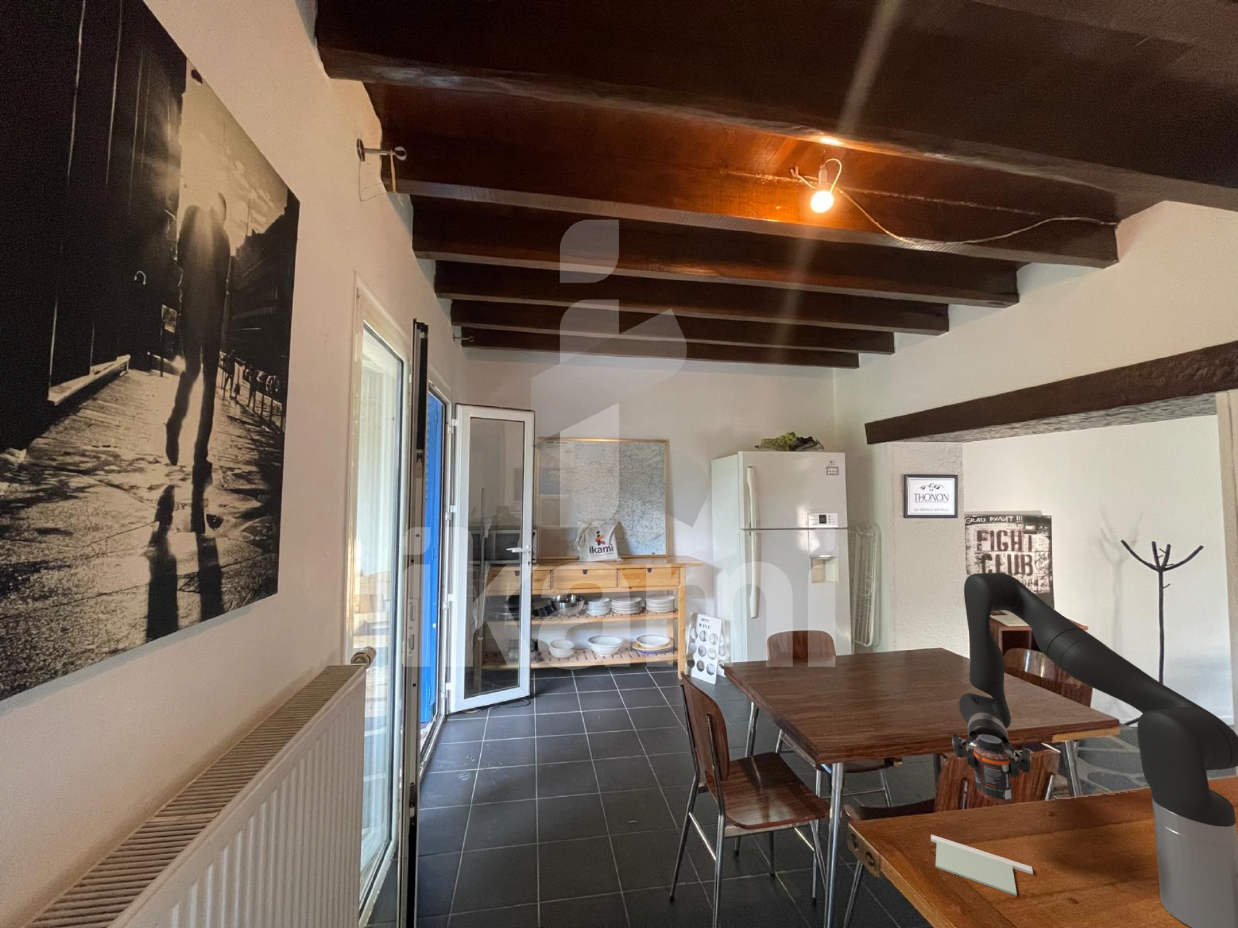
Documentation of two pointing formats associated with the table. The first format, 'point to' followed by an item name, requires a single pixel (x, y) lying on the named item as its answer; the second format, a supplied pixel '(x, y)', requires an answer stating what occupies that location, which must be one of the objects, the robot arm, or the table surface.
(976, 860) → the white flat t-shaped panel
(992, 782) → the supplement bottle
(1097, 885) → the table surface
